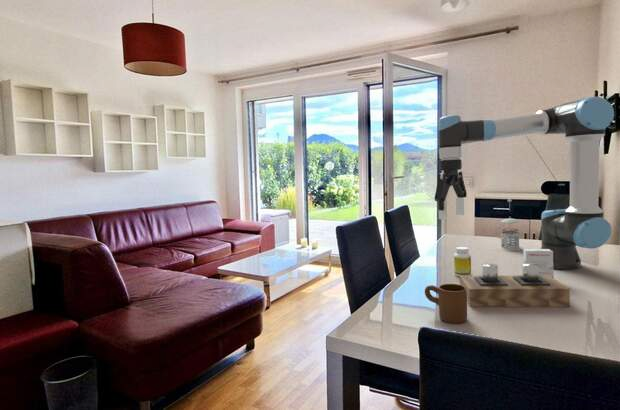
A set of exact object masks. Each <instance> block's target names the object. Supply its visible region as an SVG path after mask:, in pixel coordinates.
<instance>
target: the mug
mask: <svg viewBox="0 0 620 410" xmlns="http://www.w3.org/2000/svg"><path fill="white" fill-rule="evenodd" d="M431 291H432V292H434V293H436V294H437V295H438V297H437V296H434V295H432V293H431ZM424 295H425V297H426V299H427V300H428V301H430V302H431V303H435V304H436V305H437V306H438V315H439V319H440V320H442V322H445V323H448V324H454V325H456V324H458V325H459V323H460V324H463V323H465V322H466V321H467V320H468V303H467V293H466V288H465V287H464V286H462V285H460V284H458V283H457V284H456V283H444V284H441V285H440V284H439V286H438V287H437V286H435V285H433V284H432V285H431V284H429V285H427V286H426V287H425V289H424Z"/></svg>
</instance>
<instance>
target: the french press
mask: <svg viewBox="0 0 620 410" xmlns="http://www.w3.org/2000/svg"><path fill="white" fill-rule="evenodd" d="M512 201H513V200H512V199H511V198H508V199H507V202H508V204H509V206H508V207H509V210H511V202H512ZM500 222H501V224H499V225H498V226H497V227H496V229H495V235H496V237H497V238H498V239H500V241H501V246H499V249H500V250H502V251H507V252H509V251H511V252H512V251H513V252H515V251H521V250H522V247H520V232H519V229H518V228H512V227H508V228H507V227H506V228H504V224H509V225H511V224H518V223H520V221H519V220H518V219H515V218H512V217H509V218H505V219H502V220H500ZM500 228H502V229H501V230H502V231H501V233H500V234H501V237H500V236H499V229H500Z"/></svg>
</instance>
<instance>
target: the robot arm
mask: <svg viewBox="0 0 620 410" xmlns="http://www.w3.org/2000/svg"><path fill="white" fill-rule="evenodd" d="M614 117H615V111H614V107H613V105H612V104H611V102H609V101H608V100H607V99H605V98H604V97H600V96H590V97H589V96H588V97H583V98H580V99H577V100H573V101H570V102H567V103H566V102H565V103H563V104H560V105H556V106H554V107H550V108H546V109H540V110H538V111H537V112H535V113H532V114H526V115H518V116H512V117H506V118H499V119H476V120H475V119H474V120H462V119H461V116H460V115H459V114H457V115H455V114H454V115H446V116H442V117H440V118H439V120H438V143H439V144H438V145H439V147H438V153H439V159H440V160H439V170H440V171H443V172H442V173H440V172H439V173H438V177H437V178H438V179H437V183H436V184H437V186H436V189H435V194H434V201H435V202H438V203H437V204H438V208H437V209H438V220H445V221H447V220H448V214H447V213H448V212H447V205H448V203H447V201H446V198H447V196H448V193H449V190H450V187H452V188H453V190H454V193H455V195H456V197H455V211H456V215H459V216H460V215H462V216H464V215H465V203H464V202H465V198H467V189H466V186H465V182H464V181H465V180H464V176H463V171H459V170H461V169H462V165H463V164H462V159H460V158H462V145H465V144H470V143H471V144H472V143H476V142H487V141H491V140H496V139H505V138H512V137H518V136H519V137H520V136H526V135H533V134H537V135H539V136H544V135H560V134H561V135H565V139H566V140H567V141H569V143H570V144H569V145H570V146H569V147H570V149H569V151H570V152H569V153H570V155H569V156H570V157H569V159H570V160H569V206H568V207H567V208H564V209H551V210H550V209H549V210H544V211H542V212H541V216H540V217H541V218H540V222H541V247H540V249H550V250H551V251H553V270H554V269H555V270H577V269H580V268H581V267H582V260H581V258H580V255H579V252H578V249H577V247H579V248H582V249H584V248H585V249H591V250H592V249H598V248H600V247H602V246H604V244H605V243H607V242H608V241H609V239H610V238H611V235H612V226H611V224H610V222H608V220H607V219H605V218H604V210H603V209H601V207H600V206H599V202H600V201H599V194H600V193H599V192H600V191H599V189H600V184H599V183H600V140H601V139H603V137H605V135H606V129H607V128H608V127H609V126H610V124H611V123H612V122H613V120H614Z"/></svg>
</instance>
